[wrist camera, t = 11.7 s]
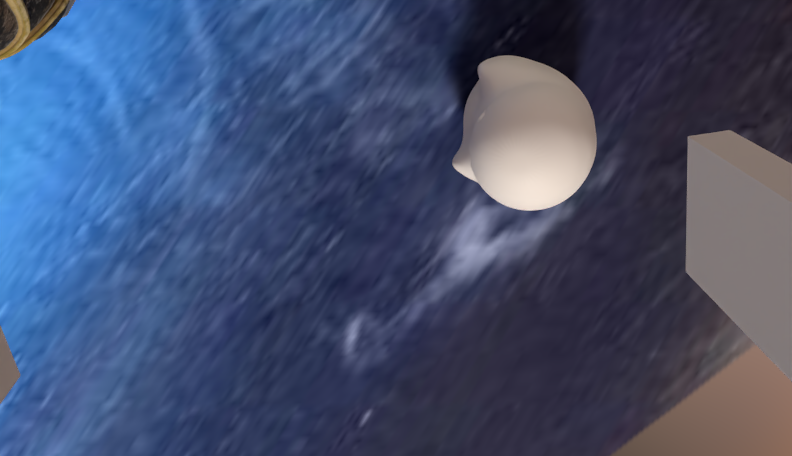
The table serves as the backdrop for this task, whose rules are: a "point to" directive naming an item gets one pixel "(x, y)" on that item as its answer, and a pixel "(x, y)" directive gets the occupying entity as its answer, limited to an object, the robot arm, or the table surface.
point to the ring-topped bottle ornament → (28, 22)
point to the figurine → (526, 134)
